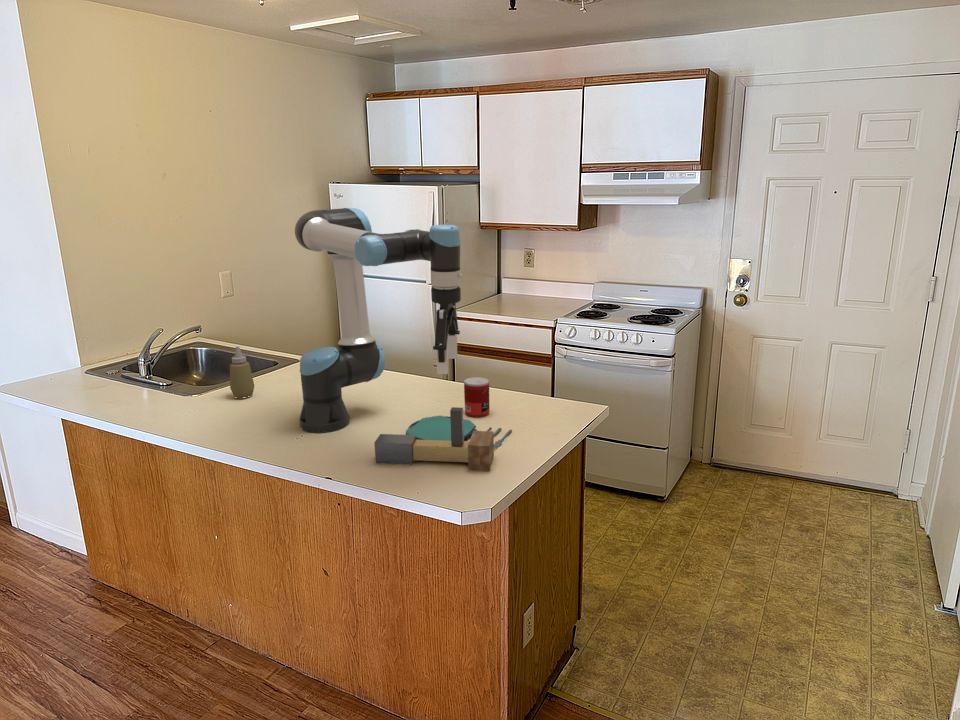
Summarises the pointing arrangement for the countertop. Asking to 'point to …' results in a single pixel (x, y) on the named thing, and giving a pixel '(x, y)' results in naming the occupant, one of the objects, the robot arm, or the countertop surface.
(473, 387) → the canned food
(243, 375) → the squeeze bottle
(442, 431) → the cutlery set
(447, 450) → the gray and tan bar
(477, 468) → the socket block
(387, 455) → the sleeve
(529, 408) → the countertop surface
